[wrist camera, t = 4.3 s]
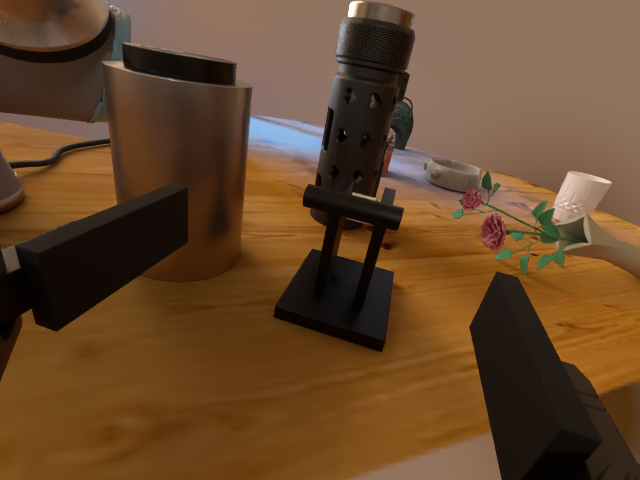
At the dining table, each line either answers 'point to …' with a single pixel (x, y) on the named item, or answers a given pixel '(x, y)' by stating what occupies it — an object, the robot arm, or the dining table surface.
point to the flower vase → (554, 235)
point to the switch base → (341, 288)
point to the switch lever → (353, 207)
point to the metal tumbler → (182, 147)
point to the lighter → (388, 153)
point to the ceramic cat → (402, 123)
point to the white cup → (579, 195)
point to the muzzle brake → (364, 97)
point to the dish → (452, 174)
